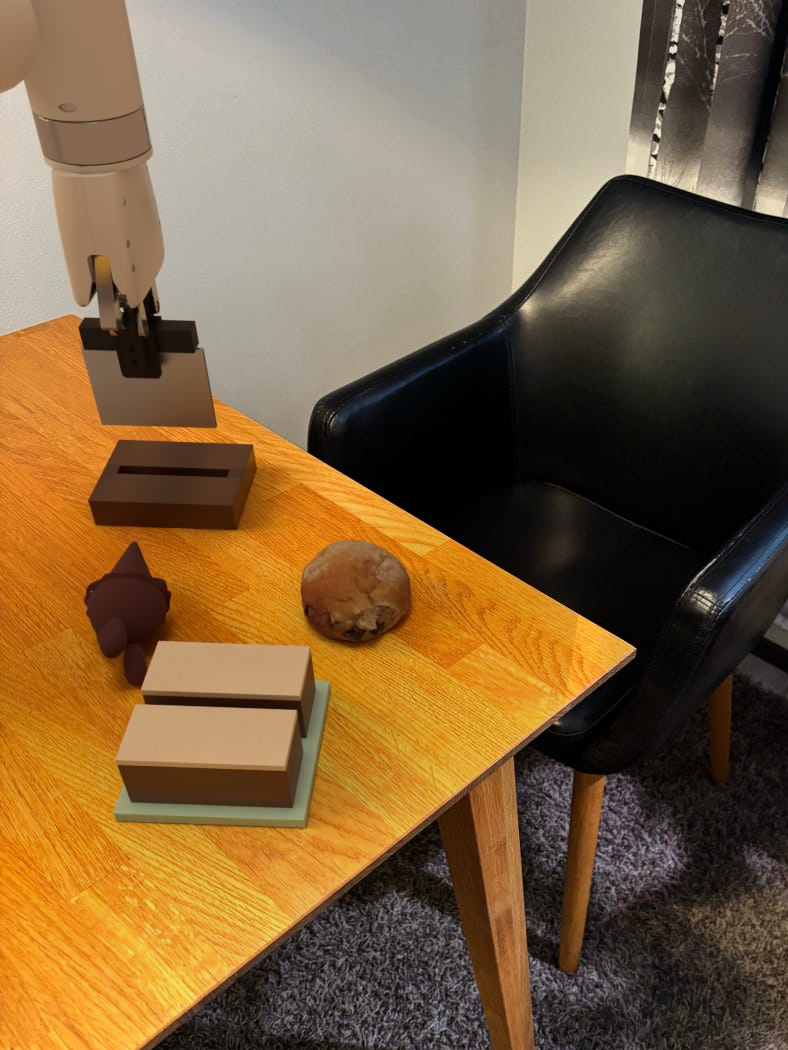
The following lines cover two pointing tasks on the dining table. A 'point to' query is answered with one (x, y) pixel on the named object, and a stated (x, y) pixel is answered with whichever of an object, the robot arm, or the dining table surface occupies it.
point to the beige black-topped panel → (151, 401)
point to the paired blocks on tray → (223, 736)
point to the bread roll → (354, 590)
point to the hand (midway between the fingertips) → (146, 367)
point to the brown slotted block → (174, 484)
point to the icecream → (127, 610)
